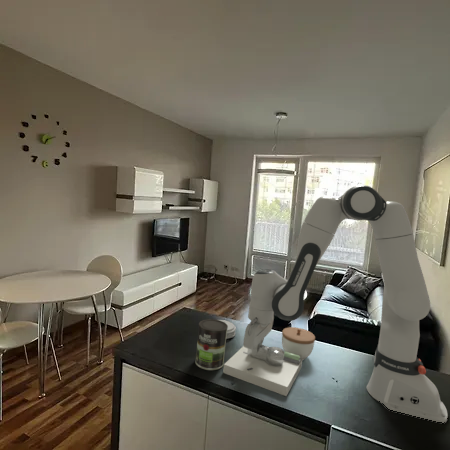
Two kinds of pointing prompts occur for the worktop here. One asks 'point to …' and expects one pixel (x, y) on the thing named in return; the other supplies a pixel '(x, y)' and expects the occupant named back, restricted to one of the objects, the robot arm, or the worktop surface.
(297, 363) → the base
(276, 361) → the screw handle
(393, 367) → the robot arm
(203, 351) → the coffee can
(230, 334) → the lid
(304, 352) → the lidded bowl
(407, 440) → the worktop surface
